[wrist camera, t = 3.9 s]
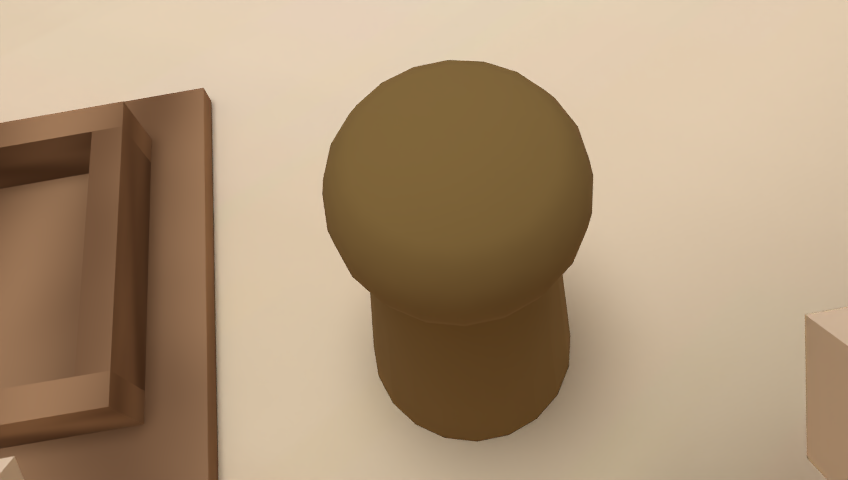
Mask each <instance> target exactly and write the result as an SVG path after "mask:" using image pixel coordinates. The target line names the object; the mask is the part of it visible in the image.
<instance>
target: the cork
mask: <svg viewBox="0 0 848 480" xmlns="http://www.w3.org/2000/svg"><path fill="white" fill-rule="evenodd" d="M592 194H593V173H592V169H591V165H590V161H589V158H588V155H587V152H586V149H585V146H584V143H583V140H582V138H581V135H580V132H579V129H578V126H577V125H576V124H575V122H574V121H573V120H572V119H571V118H570V116H569V115H568V114H567V113H566V111H565V110H564V109H563V108H562V106H561V105H560V104H559V103H558V101H557V100H556V99H555V98H554V97H553V96H551V95H550V94H549V93H548V92H546V91H545V90H544V89H542V88H541V87H539V86H537V85H536V84H534V83H533V82H531V81H530V80H528V79H527V78H525V77H524V76H522V75H521V74H519V73H518V72H515V71H512V70H509V69H505V68H502V67H499V66H496V65H493V64H489V63H486V62H479V61H456V60H447V61H442V62H437V63H432V64H427V65H422V66H418V67H413V68H411V69H409V70H407V71H405V72H403V73H401V74H399V75H397V76H395V77H393V78H391V79H389V80H387V81H385V82H383V83H381V84H380V85H379V86H378V87H377V88H376V89H374V90H373V91H372V92H371V93H370V94H369V95H368V96H367V97H365V98H364V99H363V100H362V101H361V102H360V103H359V104H357V105H356V107H355V108H354V109H353V110H352V111H351V113H350V114H349V115H348V117H347V119H346V120H345V122H344V124H343V125H342V127H341V129H340V130H339V132H338V133H337V135H336V137H335V138H334V140H333V142H332V143H331V146H330V150H329V155H328V159H327V164H326V169H325V173H324V178H323V193H322V195H323V202H324V209H325V216H326V223H327V230H328V232H329V234H330V236H331V238H332V240H333V242H334V244H335V246H336V248H337V250H338V252H339V253H340V255H341V257H342V259H343V261H344V262H345V264H346V266H347V268H348V270H349V272H350V273H351V275H352V277H353V278H355V279H356V280H357V281H358V282H359V283H360V284H361V285H362V286H364V287H365V288H366V289H367V290H368V291H369V292H370V295H371V310H372V325H373V339H374V350H375V356H376V362H377V368H378V375H379V377H380V379H381V381H382V383H383V385H384V387H385V389H386V391H387V392H388V394H389V396H390V398H391V400H392V402H393V403H394V404H395V405H396V406H397V407H398V408H399V409H400V410H401V411H402V412H403V413H404V414H405V415H407V416H408V417H409V418H410V419H411V420H412V421H413V422H414V423H415V424H416V425H419V426H421V427H423V428H425V429H427V430H429V431H432V432H434V433H436V434H438V435H440V436H442V437H445V438H453V439H461V440H470V441H481V440H486V439H490V438H495V437H500V436H505V435H509V434H511V433H513V432H514V431H516V430H518V429H519V428H521V427H523V426H525V425H526V424H528V423H530V422H531V421H533V420H535V419H537V418H538V416H539V415H540V414H541V413H542V412H543V411H544V409H545V408H546V407H547V406H548V405H549V404H550V403H551V401H552V400H553V399H554V398H555V397H556V396H557V394H558V392H559V389H560V387H561V384H562V382H563V379H564V377H565V374H566V372H567V369H568V367H569V350H570V331H569V323H568V315H567V307H566V299H565V291H564V283H563V275H562V274H563V273H564V272H565V271H566V270H567V269H568V268H569V267H570V266H571V264H572V263H573V261H574V259H575V257H576V254H577V252H578V250H579V247H580V245H581V242H582V240H583V238H584V235H585V233H586V231H587V228H588V225H589V221H590V218H591V214H592Z"/></svg>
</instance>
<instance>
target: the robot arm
mask: <svg viewBox="0 0 848 480" xmlns="http://www.w3.org/2000/svg"><path fill="white" fill-rule="evenodd" d="M805 355H806V427H807V458H808V460H809V461H810V462H811V463H812V464H813V465H814V466H815V467H816V468H817V469H818V470H819V471H820V472H821V473H822V474H823V476H824V477H825V478H826V479H827V480H848V307H844V308H838V309H833V310H827V311H822V312H816V313H810V314H805ZM0 480H24V479H23V476H22V474H21V471H20V469H19V466H18V464H17V461H16V459H15V456H13V457H7V458H2V459H0Z"/></svg>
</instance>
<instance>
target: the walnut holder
mask: <svg viewBox="0 0 848 480" xmlns="http://www.w3.org/2000/svg"><path fill="white" fill-rule="evenodd" d="M13 456H15V459H16V461H17V464H18V466H19V469H20V471H21V474H22V476H23V479H24V480H218V457H217V402H216V346H215V290H214V234H213V178H212V122H211V100H210V98H209V97H208V95H207V93H206V91H205V90H204V88H200V89H194V90H189V91H183V92H177V93H172V94H166V95H160V96H154V97H149V98H143V99H137V100H131V101H126V102H118V103H112V104H107V105H101V106H95V107H89V108H84V109H78V110H72V111H67V112H61V113H55V114H49V115H44V116H38V117H32V118H27V119H21V120H15V121H9V122H4V123H0V459H2V458H7V457H13Z"/></svg>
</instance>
